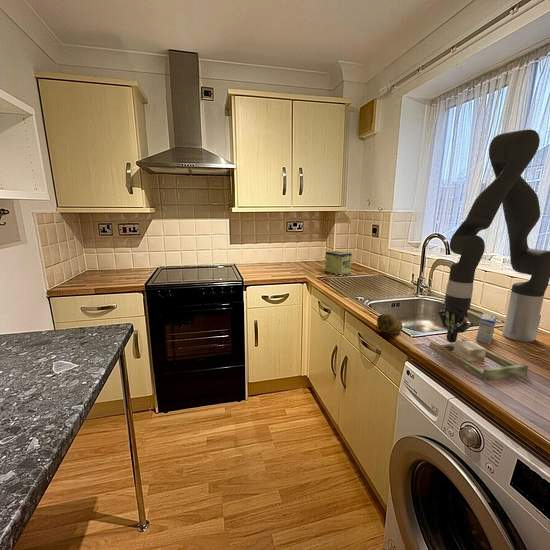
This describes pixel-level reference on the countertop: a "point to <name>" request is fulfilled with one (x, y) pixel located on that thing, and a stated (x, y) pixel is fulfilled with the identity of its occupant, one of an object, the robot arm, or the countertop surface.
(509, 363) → the shallow green tray
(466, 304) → the robot arm
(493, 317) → the medicine box
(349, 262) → the protein box
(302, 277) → the countertop surface
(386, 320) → the potato
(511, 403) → the countertop surface
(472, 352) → the cream block
